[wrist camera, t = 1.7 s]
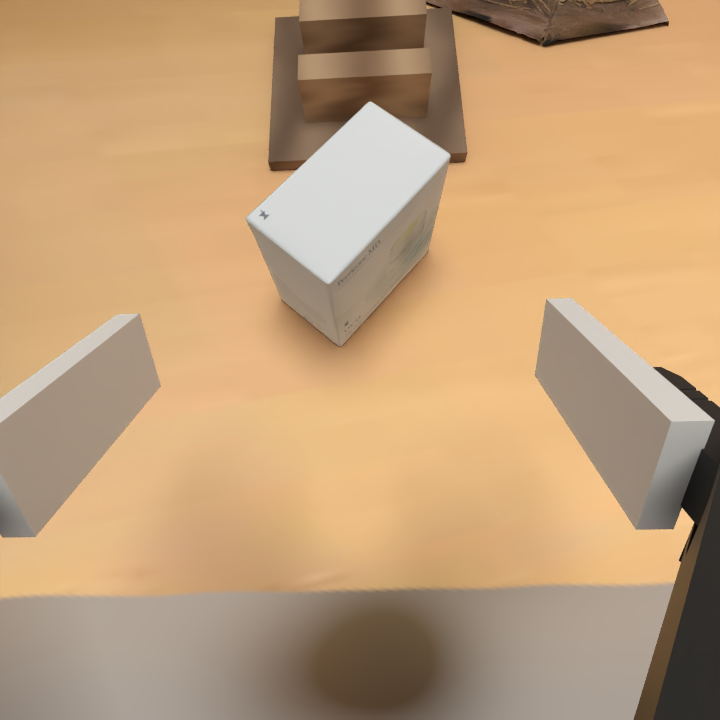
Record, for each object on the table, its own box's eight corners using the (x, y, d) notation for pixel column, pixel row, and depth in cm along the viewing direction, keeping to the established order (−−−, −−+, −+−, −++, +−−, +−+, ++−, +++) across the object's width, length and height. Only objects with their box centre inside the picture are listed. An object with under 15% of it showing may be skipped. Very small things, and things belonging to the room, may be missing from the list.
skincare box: (344, 351, 32) (328, 286, 22) (279, 299, 34) (238, 216, 24) (433, 252, 34) (456, 151, 24) (369, 207, 36) (365, 94, 26)
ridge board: (271, 170, 37) (255, 122, 32) (277, 28, 42) (264, -32, 37) (464, 161, 37) (477, 111, 32) (449, 18, 41) (458, -44, 36)
